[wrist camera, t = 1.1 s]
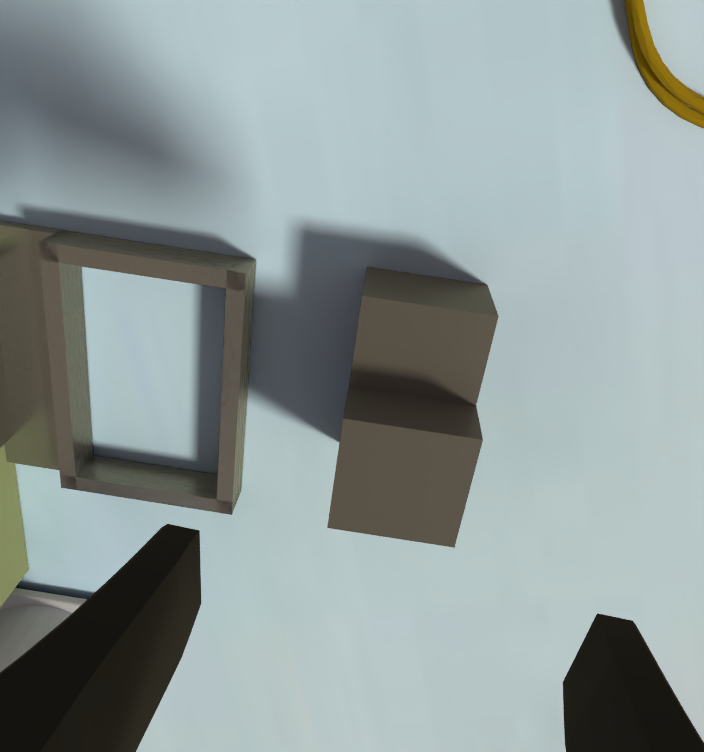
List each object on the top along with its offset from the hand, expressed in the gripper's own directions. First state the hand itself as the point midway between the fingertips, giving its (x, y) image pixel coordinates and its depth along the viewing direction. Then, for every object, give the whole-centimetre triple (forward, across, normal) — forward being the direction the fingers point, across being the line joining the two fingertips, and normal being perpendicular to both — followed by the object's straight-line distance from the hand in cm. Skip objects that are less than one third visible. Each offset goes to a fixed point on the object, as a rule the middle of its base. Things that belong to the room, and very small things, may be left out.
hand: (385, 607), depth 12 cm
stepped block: (+12, 0, +2) cm, 12 cm away
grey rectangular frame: (+11, +11, +3) cm, 16 cm away
